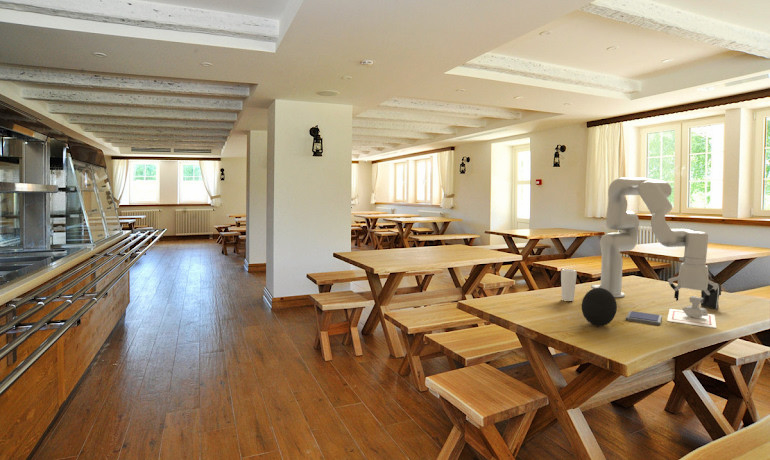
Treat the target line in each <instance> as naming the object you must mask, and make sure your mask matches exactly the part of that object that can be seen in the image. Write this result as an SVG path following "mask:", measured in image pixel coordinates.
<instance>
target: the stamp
mask: <svg viewBox="0 0 770 460" xmlns="http://www.w3.org/2000/svg"><path fill="white" fill-rule="evenodd" d="M688 300H689V302H690V303H691V304H692V305H691V304H690V305H688V306H684V307H683V308H682V310H683V311H684V313H685V314H686V316H689V317H693V318H700V317H702V316H707V315H708V314H709V313H708V310H707V309H706V307H705V308H704V307H700V305H701V303H702V302H703V298H701V296H694V295H692V296H690V297H689V299H688Z"/></svg>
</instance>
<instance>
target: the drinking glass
mask: <svg viewBox="0 0 770 460" xmlns="http://www.w3.org/2000/svg"><path fill="white" fill-rule="evenodd" d="M560 282H561V283H560V285H561V286H560V287H561V288H560V289H561V300H562V299H563V300H566V301H572V302H574V301H573V300H575V289H576V284H577V283H576V282H577V270H576V269H571V268H562V269H561V271H560ZM563 300H562V301H563ZM566 301H565V302H566Z"/></svg>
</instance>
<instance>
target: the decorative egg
mask: <svg viewBox="0 0 770 460" xmlns="http://www.w3.org/2000/svg"><path fill="white" fill-rule="evenodd" d="M617 307H618V306H617V301H616V297H614V296H613V295H612V294H611V293H610V292H609V291H608V290H606V289H603V288H594V289H593V288H591V289H590V290H588V291H587V292H586V294H584V296H583V298H582V302H581V311H582V315H583V316H584V318H585V320H586V321H587V322H588V323H589V324H590V325H593V326H595V325H596V326H595V327H604V326H607V325H608V324H610V323H611V322H612V321H613V320H614V319H615V317H616V313H617V311H618V310H617Z"/></svg>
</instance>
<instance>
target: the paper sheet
mask: <svg viewBox="0 0 770 460" xmlns="http://www.w3.org/2000/svg"><path fill="white" fill-rule="evenodd" d="M707 314H708V315H707V316H702V317H700V318H693V317H689V316H686V314H685V313H684V311H683V309H675V308H669V310H668V315H667V318H666V319H667V320H666V322H668V323H675V324H682V325H683V324H684V325H688V326H689V325H690V326H696V327H704V328H710V329H717V324H716V316H715V314H712V313H707Z"/></svg>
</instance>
